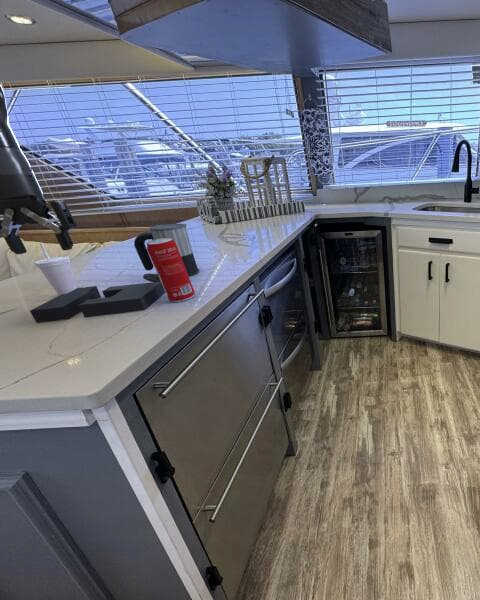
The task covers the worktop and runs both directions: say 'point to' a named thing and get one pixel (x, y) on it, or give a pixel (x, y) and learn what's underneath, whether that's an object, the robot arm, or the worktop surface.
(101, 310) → the notch pad
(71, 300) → the pad
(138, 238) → the milk frother
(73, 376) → the worktop surface
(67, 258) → the smoothie
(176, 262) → the beverage can
